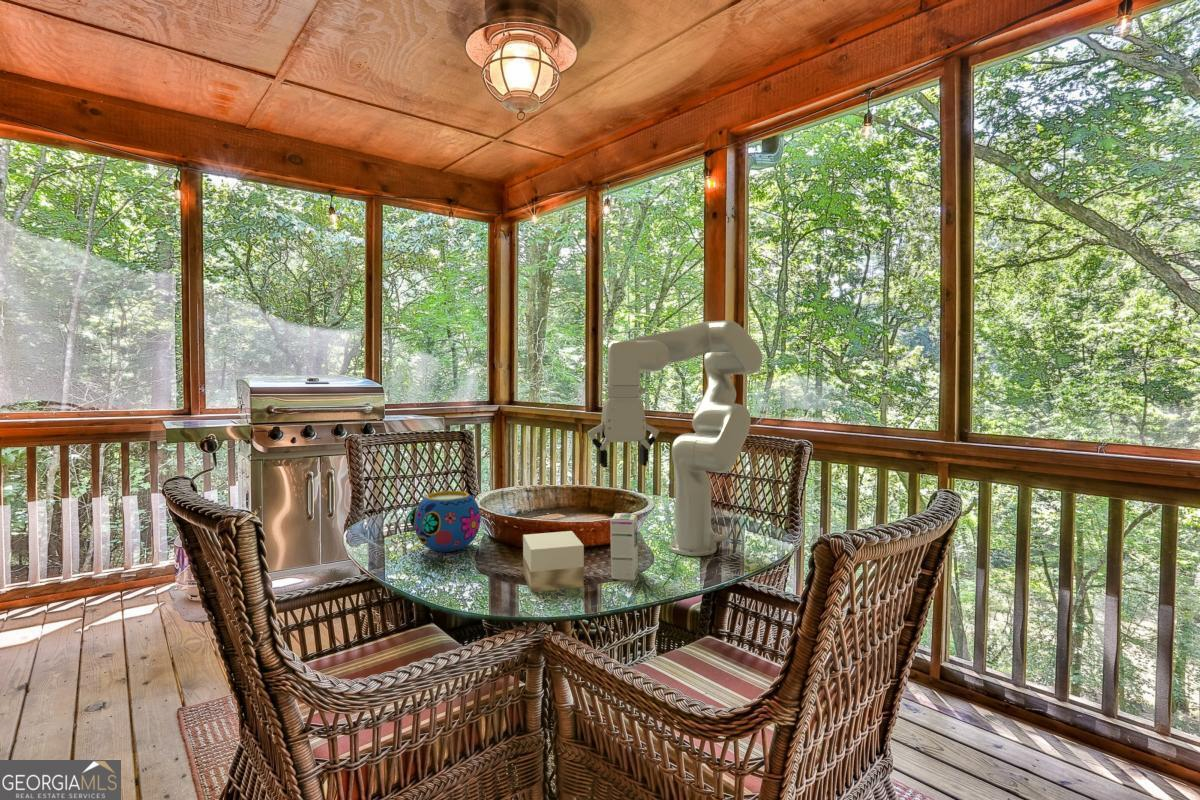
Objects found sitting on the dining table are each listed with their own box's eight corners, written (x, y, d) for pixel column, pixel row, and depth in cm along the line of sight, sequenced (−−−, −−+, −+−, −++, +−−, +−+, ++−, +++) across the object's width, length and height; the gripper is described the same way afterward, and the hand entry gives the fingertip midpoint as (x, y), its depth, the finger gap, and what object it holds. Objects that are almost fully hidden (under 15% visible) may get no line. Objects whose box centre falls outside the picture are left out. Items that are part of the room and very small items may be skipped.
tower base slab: (572, 571, 146) (571, 551, 145) (583, 588, 134) (583, 567, 134) (523, 575, 143) (523, 555, 142) (530, 594, 131) (530, 572, 131)
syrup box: (635, 581, 138) (635, 519, 137) (610, 579, 139) (609, 518, 138) (638, 572, 143) (638, 513, 142) (614, 571, 144) (614, 512, 143)
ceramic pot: (403, 548, 163) (402, 494, 162) (461, 536, 174) (461, 485, 174) (432, 564, 150) (431, 505, 149) (493, 549, 161) (492, 495, 160)
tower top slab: (571, 550, 146) (571, 530, 145) (583, 566, 134) (583, 545, 134) (523, 555, 142) (523, 534, 142) (531, 572, 131) (530, 549, 131)
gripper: (653, 392, 144) (652, 462, 145) (584, 393, 140) (584, 465, 141) (664, 393, 137) (663, 466, 138) (591, 394, 133) (592, 470, 134)
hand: (623, 465), depth 139 cm, fingers open, 9 cm apart
